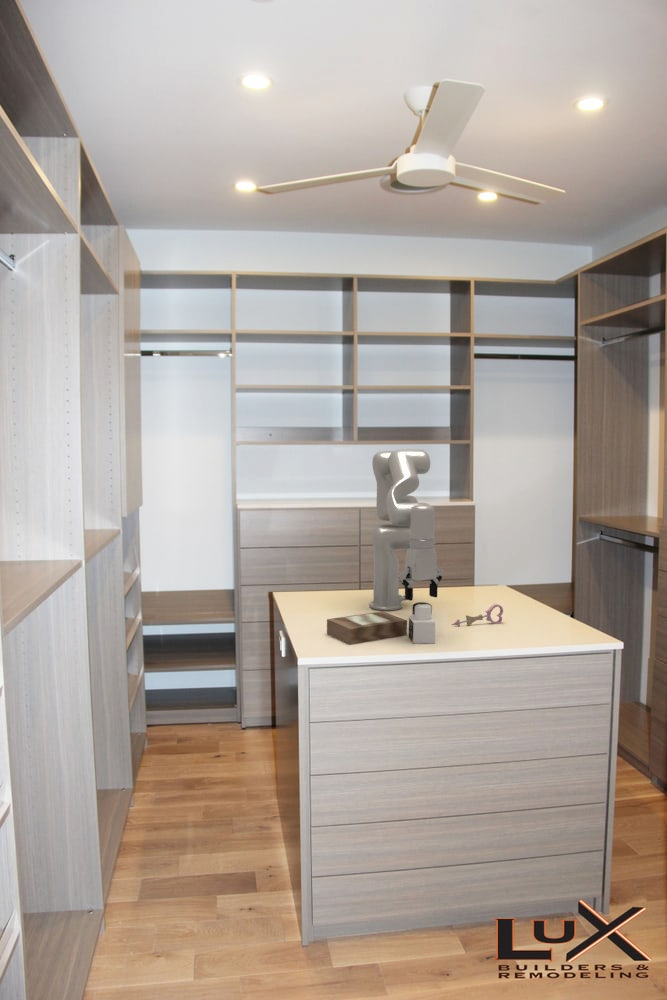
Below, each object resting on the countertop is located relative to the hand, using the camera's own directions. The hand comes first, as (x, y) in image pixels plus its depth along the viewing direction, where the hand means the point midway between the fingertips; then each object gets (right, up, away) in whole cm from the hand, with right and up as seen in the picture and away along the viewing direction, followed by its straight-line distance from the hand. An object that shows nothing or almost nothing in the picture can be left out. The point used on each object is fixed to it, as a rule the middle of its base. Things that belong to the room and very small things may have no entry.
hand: (421, 598), depth 234 cm
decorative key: (+22, -13, +22) cm, 33 cm away
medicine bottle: (0, -14, +1) cm, 14 cm away
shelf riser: (-17, -13, +8) cm, 23 cm away
